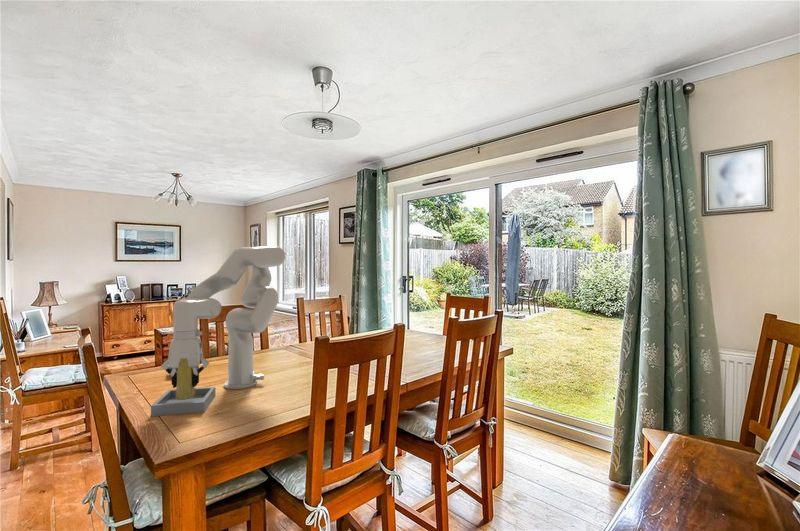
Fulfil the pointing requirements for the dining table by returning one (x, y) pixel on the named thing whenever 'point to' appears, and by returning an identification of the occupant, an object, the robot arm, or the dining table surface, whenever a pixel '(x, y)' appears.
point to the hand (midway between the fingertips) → (185, 385)
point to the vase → (184, 381)
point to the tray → (183, 402)
